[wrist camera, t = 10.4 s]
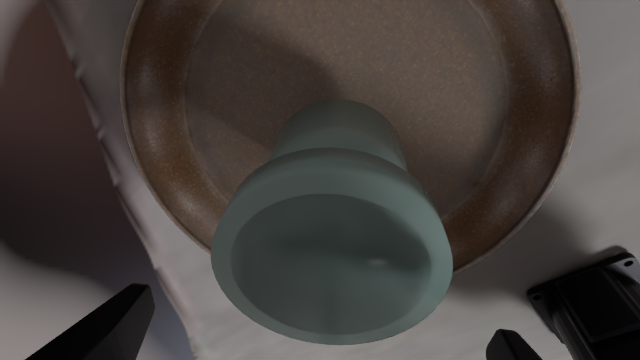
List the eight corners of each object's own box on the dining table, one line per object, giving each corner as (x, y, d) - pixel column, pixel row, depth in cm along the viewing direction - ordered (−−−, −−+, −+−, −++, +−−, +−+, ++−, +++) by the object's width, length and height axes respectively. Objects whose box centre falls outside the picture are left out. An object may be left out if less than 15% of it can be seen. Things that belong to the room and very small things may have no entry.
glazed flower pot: (444, 176, 16) (495, 299, 11) (323, 240, 19) (310, 365, 13) (356, 48, 14) (359, 119, 8) (230, 144, 16) (161, 250, 11)
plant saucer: (448, 289, 25) (460, 330, 22) (162, 232, 24) (137, 267, 22) (646, -47, 14) (719, -50, 11) (136, -170, 13) (78, -205, 11)
